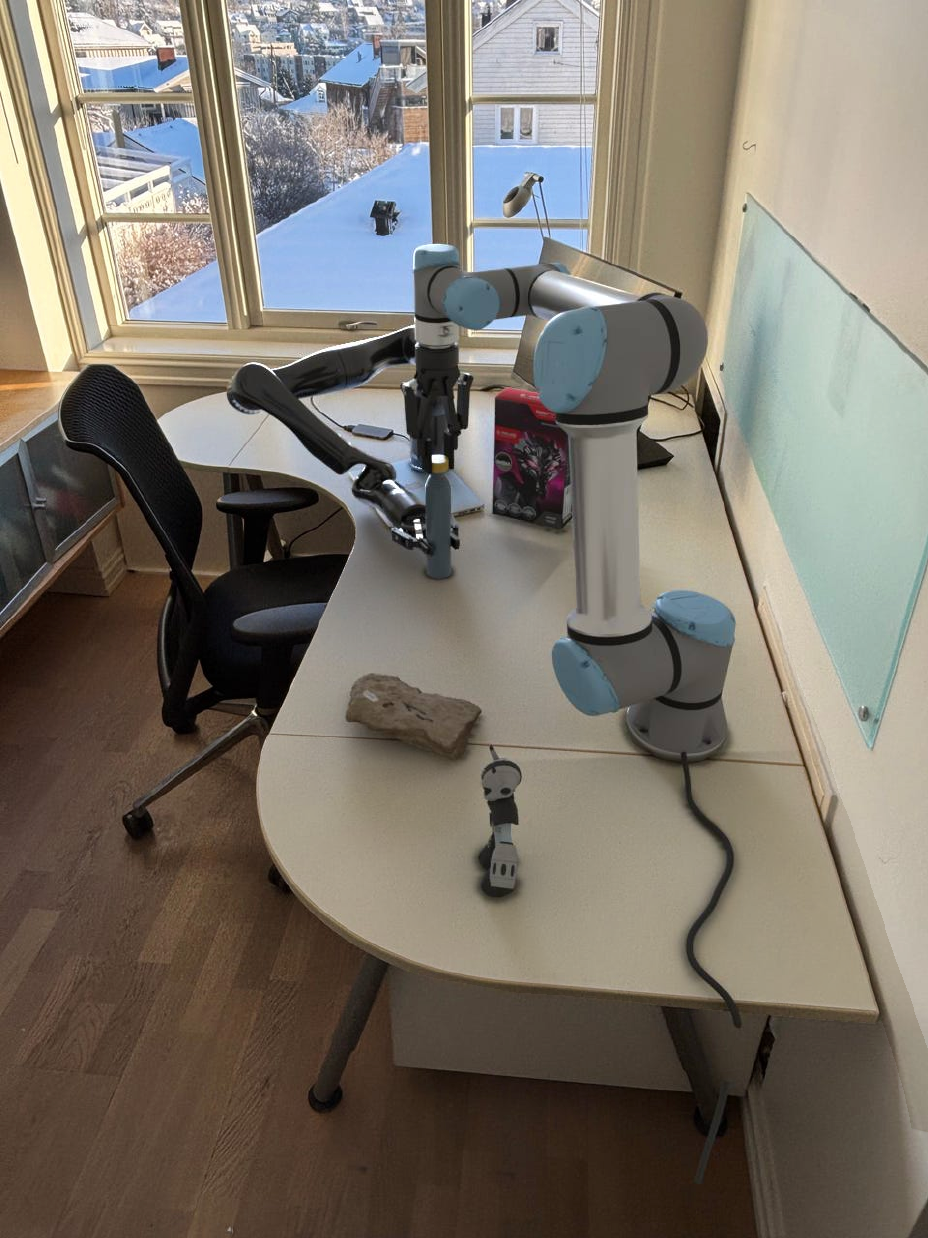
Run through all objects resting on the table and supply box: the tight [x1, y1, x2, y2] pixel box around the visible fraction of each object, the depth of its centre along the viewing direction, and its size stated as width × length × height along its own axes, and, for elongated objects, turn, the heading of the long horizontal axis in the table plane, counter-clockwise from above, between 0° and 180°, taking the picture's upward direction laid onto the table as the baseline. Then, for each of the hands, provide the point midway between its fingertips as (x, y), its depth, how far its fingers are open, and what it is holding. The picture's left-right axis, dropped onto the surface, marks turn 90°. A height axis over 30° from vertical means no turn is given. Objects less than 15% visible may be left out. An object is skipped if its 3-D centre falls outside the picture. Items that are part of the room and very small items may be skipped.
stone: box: [344, 672, 483, 761], centre depth 141 cm, size 21×15×6 cm
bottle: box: [424, 471, 452, 579], centre depth 176 cm, size 5×5×24 cm
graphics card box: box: [491, 386, 573, 531], centre depth 194 cm, size 17×7×27 cm, turn 62°
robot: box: [477, 744, 523, 898], centre depth 114 cm, size 20×5×20 cm, turn 3°
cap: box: [432, 455, 450, 473], centre depth 169 cm, size 4×4×2 cm
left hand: (445, 548), depth 177 cm, fingers closed on bottle, 5 cm apart
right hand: (437, 468), depth 170 cm, fingers closed on cap, 4 cm apart
